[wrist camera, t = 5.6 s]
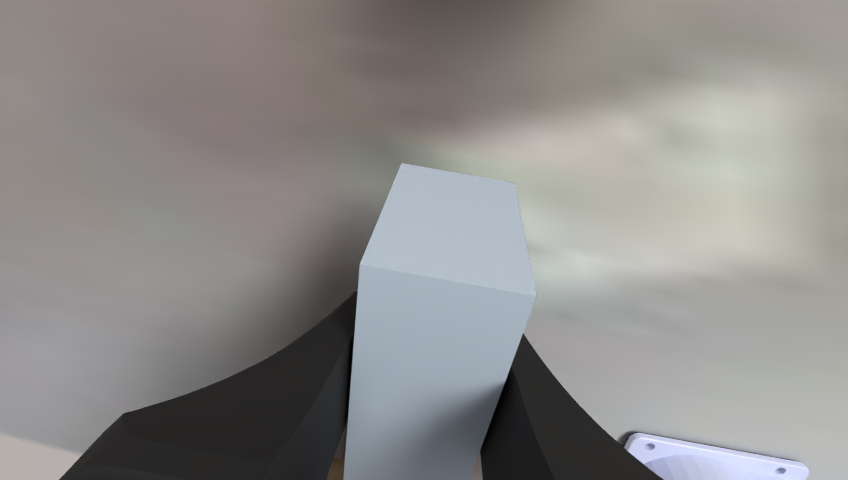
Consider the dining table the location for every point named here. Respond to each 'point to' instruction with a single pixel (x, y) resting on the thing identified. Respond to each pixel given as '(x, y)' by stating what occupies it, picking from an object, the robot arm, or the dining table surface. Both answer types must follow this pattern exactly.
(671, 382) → the dining table surface
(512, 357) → the rail
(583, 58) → the dining table surface
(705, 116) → the dining table surface
